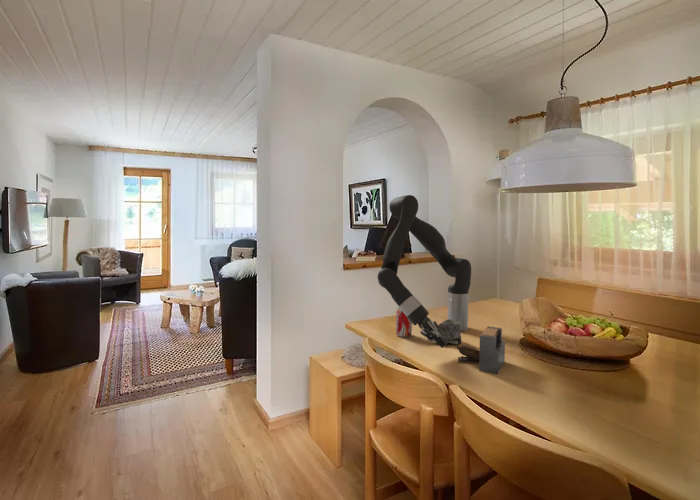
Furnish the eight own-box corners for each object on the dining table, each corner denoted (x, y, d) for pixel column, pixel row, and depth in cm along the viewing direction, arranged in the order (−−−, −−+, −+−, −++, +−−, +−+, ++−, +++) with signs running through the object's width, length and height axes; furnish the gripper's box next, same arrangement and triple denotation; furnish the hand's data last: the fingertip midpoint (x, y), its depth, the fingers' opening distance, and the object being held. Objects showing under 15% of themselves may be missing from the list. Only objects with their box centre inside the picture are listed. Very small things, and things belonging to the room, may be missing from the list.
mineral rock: (425, 343, 165) (426, 319, 164) (435, 336, 174) (435, 314, 173) (456, 348, 158) (456, 324, 157) (464, 341, 167) (464, 318, 166)
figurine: (446, 362, 144) (446, 338, 143) (446, 358, 148) (446, 335, 147) (486, 365, 140) (487, 341, 139) (485, 361, 144) (486, 338, 144)
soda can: (406, 338, 171) (407, 311, 169) (392, 335, 175) (392, 309, 174) (414, 334, 176) (414, 308, 175) (400, 332, 180) (400, 306, 179)
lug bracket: (486, 358, 146) (487, 326, 145) (504, 361, 143) (505, 328, 142) (479, 370, 135) (479, 335, 134) (498, 374, 132) (499, 338, 131)
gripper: (414, 307, 145) (446, 345, 140) (426, 300, 157) (456, 335, 152) (400, 319, 148) (431, 357, 143) (413, 312, 160) (442, 346, 155)
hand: (444, 346), depth 148 cm, fingers closed
